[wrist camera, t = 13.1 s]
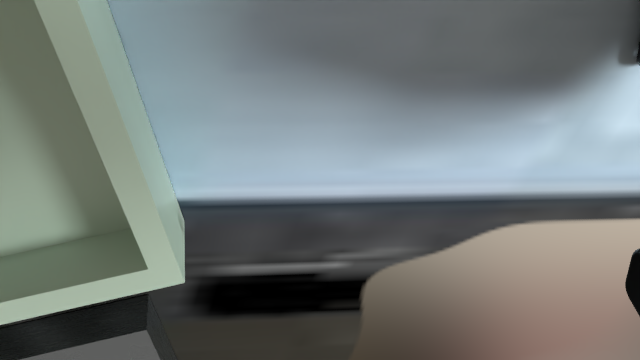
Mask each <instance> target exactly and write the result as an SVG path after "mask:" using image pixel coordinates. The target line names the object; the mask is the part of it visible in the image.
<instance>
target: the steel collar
mask: <svg viewBox="0 0 640 360" xmlns="http://www.w3.org/2000/svg"><path fill="white" fill-rule="evenodd" d="M0 360H177V358H176V355H175V353H174V351H173V349H172V346H171V344H170V342H169V339H168V337H167V335H166V333H165V330H164V328H163V326H162V324H161V321H160V319H159V317H158V315H157V312H156V310H155V308H154V305H153V303H152V301H151V299H150V296H149V294H148V295H144V296H140V297H135V298H131V299H127V300H122V301H118V302H113V303H109V304H105V305H100V306H96V307H92V308H87V309H83V310H79V311H74V312H70V313H66V314H61V315H57V316H52V317H48V318H44V319H39V320H35V321H31V322H26V323H22V324H18V325H13V326H9V327H5V328H0Z"/></svg>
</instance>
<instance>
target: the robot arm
mask: <svg viewBox="0 0 640 360" xmlns="http://www.w3.org/2000/svg"><path fill="white" fill-rule="evenodd" d="M637 63H638V64H639V65H640V44H639V49H638V54H637ZM626 291H627V294H628V296H629V299H630V300H631V302H632V304H633V305H634V307H635V309H636V311H637V312H638V314H639V316H640V249H637V250H636V251H635V252H634V253H633V255H632V258H631V262H630V266H629V270H628V274H627V278H626Z"/></svg>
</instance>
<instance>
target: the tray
mask: <svg viewBox="0 0 640 360" xmlns="http://www.w3.org/2000/svg"><path fill="white" fill-rule="evenodd" d="M181 283H185V237H184V219H183V216H182V213H181V210H180V207H179V204H178V202H177V199H176V196H175V193H174V190H173V187H172V184H171V182H170V179H169V176H168V173H167V170H166V167H165V165H164V162H163V159H162V156H161V153H160V150H159V147H158V145H157V142H156V139H155V136H154V133H153V130H152V127H151V125H150V122H149V119H148V116H147V113H146V110H145V107H144V105H143V102H142V99H141V96H140V93H139V90H138V87H137V85H136V82H135V79H134V76H133V73H132V70H131V67H130V65H129V62H128V59H127V56H126V53H125V50H124V48H123V45H122V42H121V39H120V36H119V33H118V30H117V28H116V25H115V22H114V19H113V16H112V13H111V10H110V8H109V5H108V2H107V0H0V325H2V324H7V323H11V322H15V321H20V320H24V319H29V318H33V317H37V316H42V315H46V314H50V313H55V312H59V311H63V310H68V309H72V308H77V307H81V306H85V305H90V304H94V303H98V302H103V301H107V300H112V299H116V298H120V297H125V296H129V295H133V294H138V293H142V292H146V291H151V290H155V289H160V288H164V287H168V286H173V285H177V284H181Z"/></svg>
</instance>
